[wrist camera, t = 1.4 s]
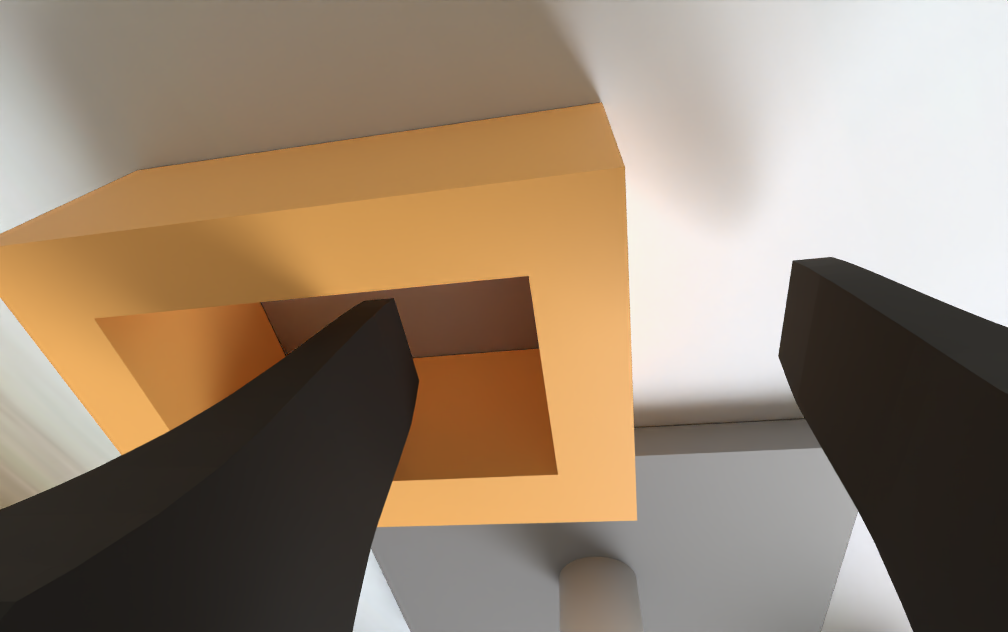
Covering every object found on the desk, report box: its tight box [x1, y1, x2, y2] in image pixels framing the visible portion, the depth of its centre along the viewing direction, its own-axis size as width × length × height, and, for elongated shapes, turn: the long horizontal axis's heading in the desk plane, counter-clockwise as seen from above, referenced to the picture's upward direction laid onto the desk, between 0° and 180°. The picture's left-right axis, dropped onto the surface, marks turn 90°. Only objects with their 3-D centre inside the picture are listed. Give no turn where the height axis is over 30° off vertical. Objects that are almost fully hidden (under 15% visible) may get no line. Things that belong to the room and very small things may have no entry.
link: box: [0, 102, 637, 527], centre depth 11 cm, size 10×7×4 cm
